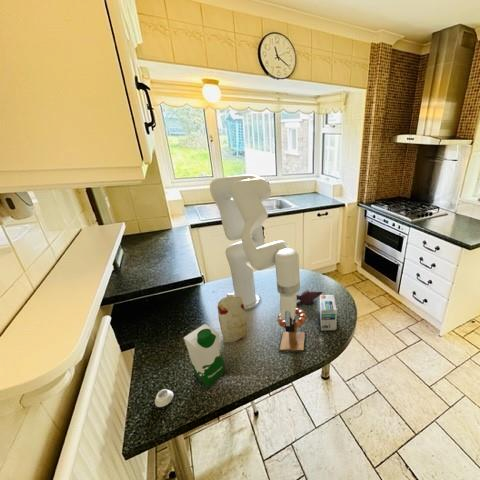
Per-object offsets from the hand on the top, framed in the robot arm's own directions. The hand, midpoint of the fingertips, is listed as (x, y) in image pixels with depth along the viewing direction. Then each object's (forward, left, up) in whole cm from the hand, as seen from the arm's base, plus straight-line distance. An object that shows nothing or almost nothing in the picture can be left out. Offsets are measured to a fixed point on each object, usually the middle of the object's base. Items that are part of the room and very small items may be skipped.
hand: (290, 327), depth 92 cm
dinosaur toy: (+5, +29, -12) cm, 32 cm away
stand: (0, +4, -12) cm, 13 cm away
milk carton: (-27, -10, -12) cm, 31 cm away
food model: (-23, +6, -12) cm, 27 cm away
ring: (0, +4, +1) cm, 4 cm away
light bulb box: (+14, +16, -12) cm, 25 cm away
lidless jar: (-38, -19, -12) cm, 44 cm away
